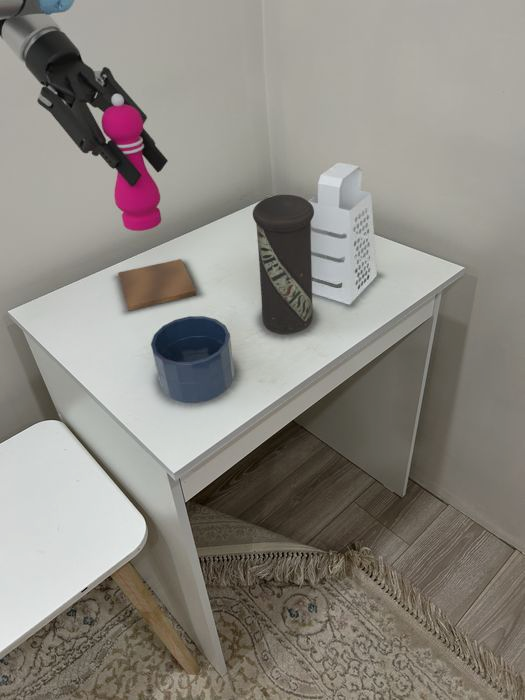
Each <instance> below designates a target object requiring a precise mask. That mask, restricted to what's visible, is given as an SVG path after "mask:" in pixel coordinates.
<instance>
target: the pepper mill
mask: <svg viewBox="0 0 525 700" xmlns="http://www.w3.org/2000/svg"><path fill="white" fill-rule="evenodd" d="M111 101H112V104H113V105H114V106H111V107H109V108H108V109H107V110H106V111H105V112H103V114H102V117H101V128H102V132H103V134H104V135H105V136H106V137H108V138H109V140H113V141H114V143H115V144H116V145H117V146H118V147H119V149H120V150H121V151H122V152H123V153H124V154H125V156H126V157H127V158H128V159H129V160H130V162H131V163H132V164H133V165H134V166H135V167H136V169H137V170H138V171H139V172H140V173H141V174H142V176H141V177H140V179H139V180H138V181H137V183H136V184H135V186H133V187H131V186H130V185H129V184H128V183H127V181H126V180H125V179H124V178H123V177H122V175H121V174H120V173H119V172H118V171H117V170H116V172H117V173H116V180H115V185H114V193H113V194H114V195H113V196H114V203H115V205H116V207H117V208H118V209H119V210H120V211H121V212H122V214H121V218H122V220H121V221H122V223H123V227H124V228H125V229H127V230H130V231H133V232H134V231H135V232H142V231H147V230H151V229H154V228H156V227H157V226H159V225H160V224H161V223H162V214H161V210H160V208H159V207H158V206H159V204H160V202H161V193H160V189H159V187H158V185H157V183H156V181H155V179H154V178H153V177H152V176H151V174H150V173H149V171H148V168H147V167H146V164H145V159H144V156H143V155H142V149H143V148H144V144H143V142H142V141H143V139H142V137H140V134H141V132H142V130H143V128H144V124H143V120H142V117H141V115H140V113H139V112H138V111H137V110H136V109H135V108H134V107H132V106H129V105H125V104H124V98H123V97H122V96H121V95H120V94H114V95H113V96H112V98H111Z"/></svg>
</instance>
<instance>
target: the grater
mask: <svg viewBox="0 0 525 700" xmlns="http://www.w3.org/2000/svg"><path fill="white" fill-rule="evenodd" d="M362 174H363V171H362V168H361V166H360V165H356V164H355V165H353V164H349V163H344V162H337V163H335V164H333V166H331V167H329V168H328V169H327V170H325V171H324V172H323V173H321V174H320V176H319V179H318V182H317V194H316V195H314V196H313V197H311V198H310V199H308V200H307V201H308V202H310V203H311V204H312V206H313V209H314V216H313V218H312V220H311V265H312V279H317V280H321V281H323V282H326V283H331V284H333V285H340V284H341V287H333V286H330V285H327V284H324V283H320V282H317V281H314V280H312V295H313V294H314V295H316V296H320V297H323V298H326V299H329V300H333V301H336V302H339V303H342V304H346V305H351V304H352V303H353V302H354V301H355V300H356V298H358V296H360V295H361V293H362V292H364V290H366V288H367V287H368V286H369V285H370V284H371V283H372V281H373V280H374V279H375V278H376V277H377V276H378V273H377V257H376V256H377V255H376V243H375V231H374V229H375V228H374V214H373V213H374V212H373V202H372V201H373V200H372V199H373V198H372V192H369V191H364V190H361V189H362ZM358 274H359V276H358Z"/></svg>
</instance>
